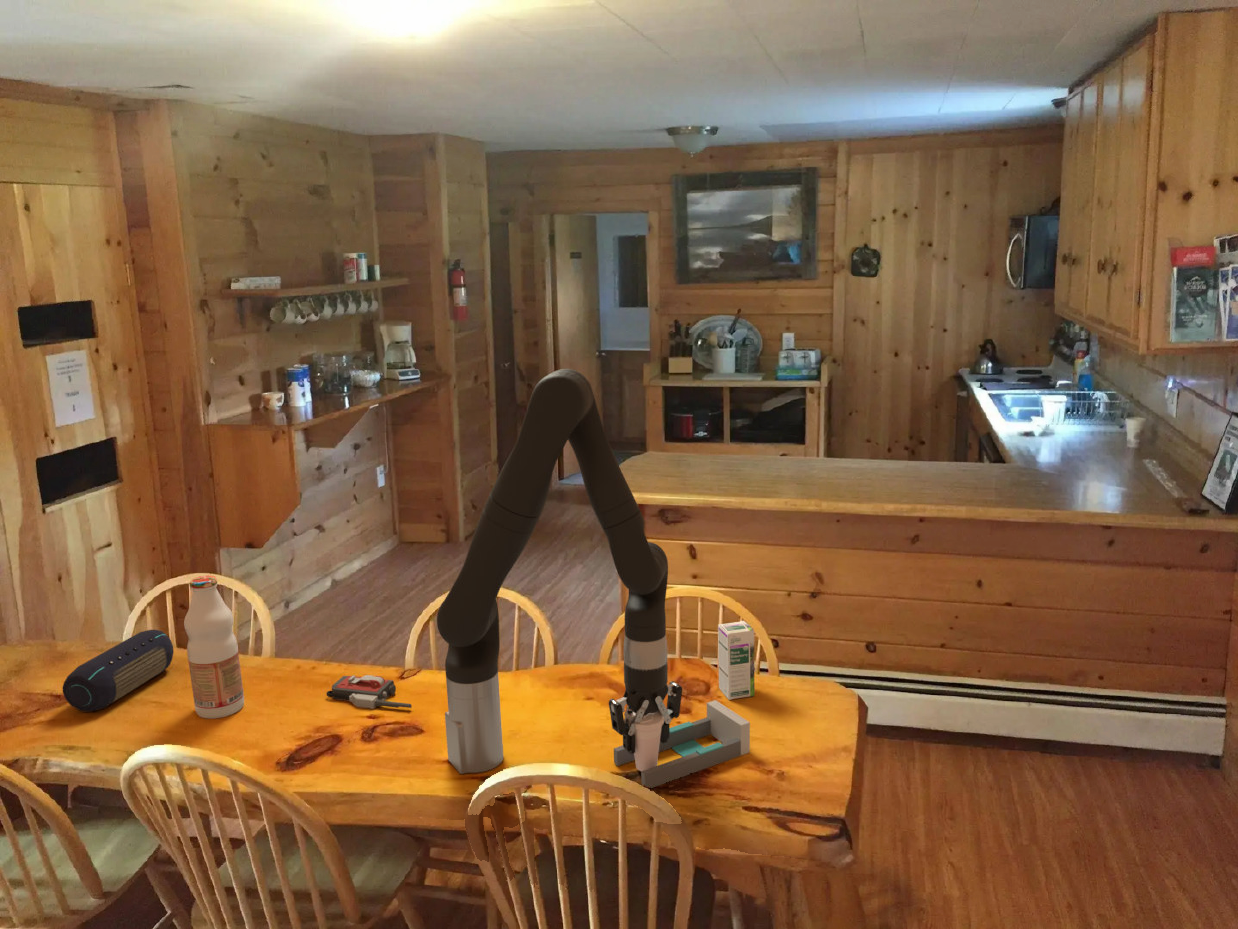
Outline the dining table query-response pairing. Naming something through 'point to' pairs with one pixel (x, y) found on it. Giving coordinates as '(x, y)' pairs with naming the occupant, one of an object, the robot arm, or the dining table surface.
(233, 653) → the fruit juice
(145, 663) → the portable speaker
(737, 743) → the guide channel
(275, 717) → the dining table surface
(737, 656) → the syrup box
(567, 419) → the robot arm
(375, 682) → the walkie-talkie
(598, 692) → the dining table surface
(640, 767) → the smoothie
